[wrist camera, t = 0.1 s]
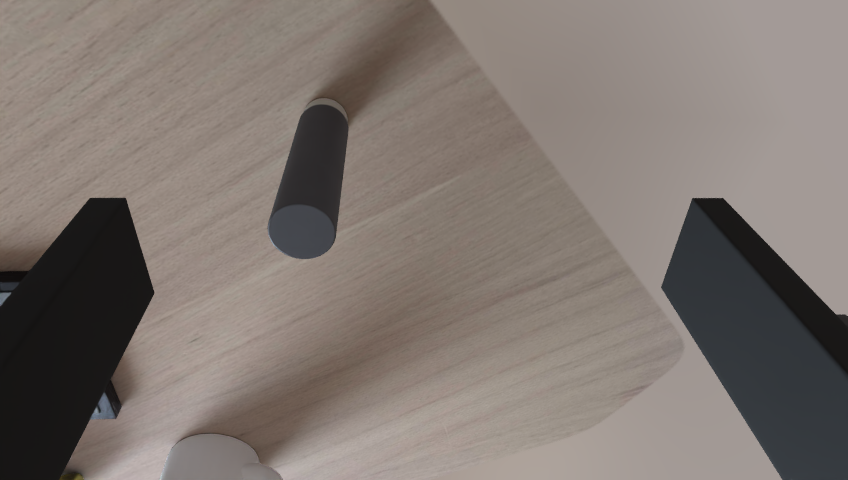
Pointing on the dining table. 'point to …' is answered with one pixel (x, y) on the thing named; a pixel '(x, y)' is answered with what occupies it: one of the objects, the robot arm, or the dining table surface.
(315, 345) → the dining table surface
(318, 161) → the grey cylinder
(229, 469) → the mug
